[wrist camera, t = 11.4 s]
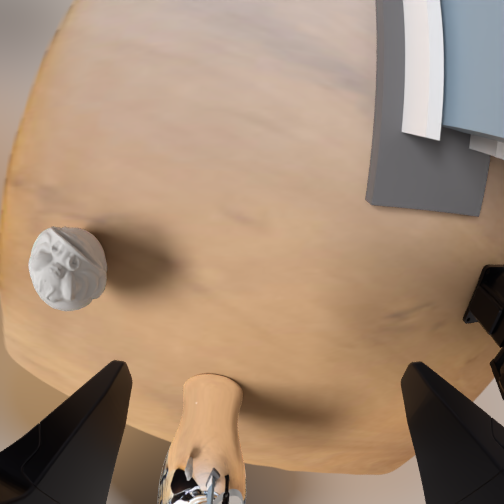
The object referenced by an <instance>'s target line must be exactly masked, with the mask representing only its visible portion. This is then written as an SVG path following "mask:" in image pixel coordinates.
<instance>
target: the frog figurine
mask: <svg viewBox="0 0 504 504" xmlns="http://www.w3.org/2000/svg"><path fill="white" fill-rule="evenodd" d="M29 271H30V277H31V278H32V282H33V286H34V287H35V290H36V292H37V293H38V295H39V296H40V298H41V299H42V300H43V301H45V302H46V303H47V304H48V305H49V306H50V307H52V308H55V309H59V310H62V311H73V310H79V309H81V308H83V307H85V306H87V305H88V304H90V303H91V301H92V299H97V298H98V297H99V296H100V295H101V294H102V293H103V291H104V289H105V286H106V281H107V276H106V272H107V263H106V259H105V254H104V250H103V248H102V246H101V244H100V242H99V241H98V240H97V239H96V237H95V236H93V235H92V234H91V233H89V232H88V231H86V230H83V229H80V228H67V227H63V228H60V227H50V228H48V229H46V230H44V231H43V232H42V233H41V234H40V235H39V236H38V238H37V240H36V241H35V243H34V245H33V248H32V251H31V257H30V259H29Z"/></svg>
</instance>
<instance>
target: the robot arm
mask: <svg viewBox="0 0 504 504" xmlns="http://www.w3.org/2000/svg"><path fill="white" fill-rule="evenodd" d="M463 321H464V322H465V323H466V324H467V323H474V322H479V323H480V324H481V325H482V327H483V328H484V329H485V330H486V332H487V333H488V334H489V335H491V337H492V338H493V339H494V341H495V342H496V343H497V345H498V346H499V347H500V348H501V347H502V349H501V350H500V352H499V353H498V354H497V356H496V357H495V358H494V359H493V360H492V361H491V362H490V366H491V368H492V372H493V374H494V377H495V379H496V382H497V384H498V387H499V389H500V393H501V396H502V398H503V400H504V265H486V266H485V267H484V268H483V270H482V273H481V276H480V278H479V281H478V284H477V286H476V289H475V291H474V294H473V296H472V299H471V301H470V304H469V306H468V308H467V311H466V313H465V315H464V317H463ZM401 388H402V394H403V399H404V405H405V411H406V417H407V422H408V427H409V430H410V434H411V438H412V442H413V446H414V450H415V454H416V458H417V462H418V467H419V471H420V476H421V481H422V485H423V490H424V496H425V501H426V504H504V427H503V426H502V425H501V424H499V423H498V422H497V421H496V420H494V419H493V418H491V417H490V416H489V415H488V414H487V413H486V412H484V411H483V410H482V409H481V408H479V407H478V406H477V405H476V404H474V403H473V402H472V401H471V400H469V399H468V398H467V397H466V396H464V395H463V394H462V393H461V392H459V391H458V390H457V389H456V388H454V387H453V386H452V385H451V384H449V383H448V382H447V381H446V380H444V379H443V378H442V377H441V376H439V375H438V374H437V373H436V372H434V371H433V370H432V369H430V368H429V367H428V366H427V365H425V364H424V363H423V362H420V361H419V362H412V363H410V364H409V365H408V367H407V369H406V371H405V373H404V375H403V377H402V379H401ZM131 389H132V377H131V374H130V372H129V369H128V366H127V364H126V362H124V361H118V360H113V361H111V362H110V363H109V364H108V365H107V366H105V367H104V368H103V369H102V370H101V371H100V372H98V373H97V374H96V375H95V376H94V377H92V378H91V379H90V380H89V381H88V382H87V383H85V384H84V385H83V386H82V387H81V388H79V389H78V390H77V391H76V392H75V393H74V394H72V395H71V396H70V397H69V398H68V399H67V400H65V401H64V402H63V403H62V404H61V405H60V406H58V407H57V408H56V409H55V410H54V411H53V412H51V413H50V414H49V415H48V416H47V417H46V418H44V419H43V420H42V421H41V422H40V424H37V425H36V426H35V427H34V428H32V429H31V430H30V431H29V432H28V433H26V434H25V435H24V436H23V437H21V438H20V439H19V440H17V441H16V442H14V443H13V444H12V445H10V446H9V447H7V448H6V449H4V450H3V451H1V452H0V504H106V501H107V496H108V492H109V487H110V483H111V479H112V474H113V471H114V467H115V463H116V459H117V455H118V451H119V447H120V444H121V440H122V436H123V433H124V429H125V425H126V419H127V413H128V407H129V400H130V395H131Z"/></svg>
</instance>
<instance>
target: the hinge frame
mask: <svg viewBox="0 0 504 504" xmlns="http://www.w3.org/2000/svg"><path fill="white" fill-rule="evenodd" d="M376 21H377V74H376V98H375V114H374V128H373V139H372V149H371V159H370V167H369V176H368V183H367V191H366V198H365V200H366V201H368V202H369V203H370V204H371V205H378V206H389V207H400V208H410V209H420V210H429V211H438V212H447V213H455V214H463V215H470V216H477V217H479V214H480V210H481V206H482V201H483V197H484V192H485V187H486V181H487V176H488V170H489V163H490V156H494V157H497V158H500V159H503V160H504V143H502V142H499V141H495V140H491V139H488V138H484V137H480V136H476V135H472V134H467V133H463V132H460V131H457V130H453V129H450V128H446V127H443V126H441V121H442V108H443V86H444V50H443V29H442V16H441V6H440V0H376Z"/></svg>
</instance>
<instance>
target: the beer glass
mask: <svg viewBox="0 0 504 504" xmlns="http://www.w3.org/2000/svg"><path fill="white" fill-rule="evenodd" d="M242 399H243V392H242V389H241V387H240V386H239V385H238V384H237V383H236V382H235V381H233V380H231V379H229V378H227V377H224V376H221V375H216V374H201V375H196V376H193V377H191V378H189V379H188V380H187V381H186V382H185V384H184V386H183V413H182V417H181V421H180V424H179V426H178V429H177V431H176V434H175V436H174V438H173V441H172V443H171V446H170V448H169V451H168V453H167V456H166V459H165V462H164V465H163V468H162V473H161V477H160V483H159V491H158V502H157V504H245V503H246V474H245V467H244V460H243V455H242V449H241V444H240V439H239V432H238V416H239V411H240V407H241V404H242Z"/></svg>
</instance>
